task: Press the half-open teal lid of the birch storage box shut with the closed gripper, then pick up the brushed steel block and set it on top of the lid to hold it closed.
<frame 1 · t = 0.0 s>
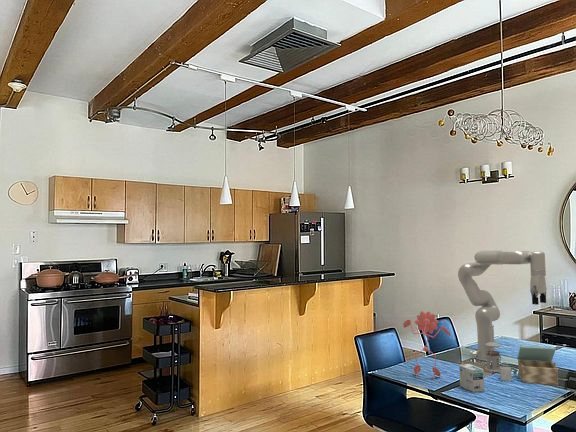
hand: (539, 303, 258), 37 cm above the table, tool pointing down, fingers open, 9 cm apart
lid: (535, 353, 242), point 13 cm above the table, hinge at 40.0°
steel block: (505, 379, 241), on the table
light bulb box: (472, 389, 227), on the table
figurine: (428, 375, 250), on the table
storage box: (537, 379, 240), on the table
french press: (493, 369, 259), on the table
packaged product: (543, 371, 256), on the table
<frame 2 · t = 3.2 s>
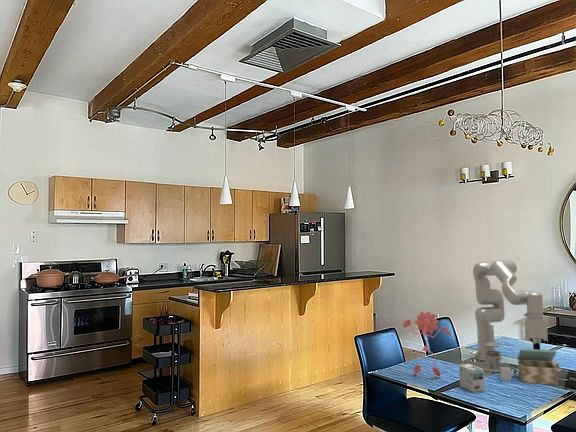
hand: (536, 351, 240), 15 cm above the table, tool pointing down, fingers closed
lid: (536, 355, 241), point 12 cm above the table, hinge at 33.1°, touching gripper
packaged product: (546, 372, 255), on the table
everything else where it was.
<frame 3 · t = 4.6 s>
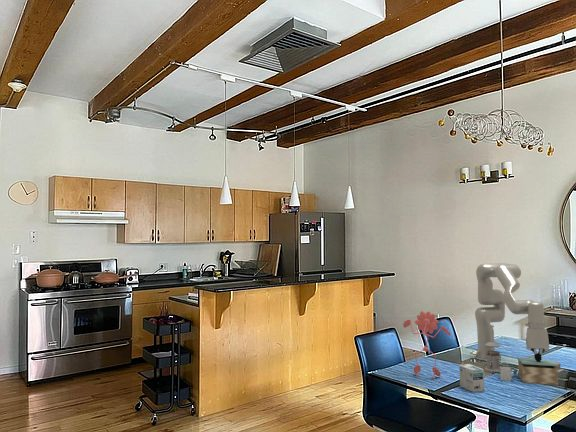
hand: (538, 361, 238), 10 cm above the table, tool pointing down, fingers closed
lid: (537, 361, 240), point 9 cm above the table, hinge at 5.5°, touching gripper
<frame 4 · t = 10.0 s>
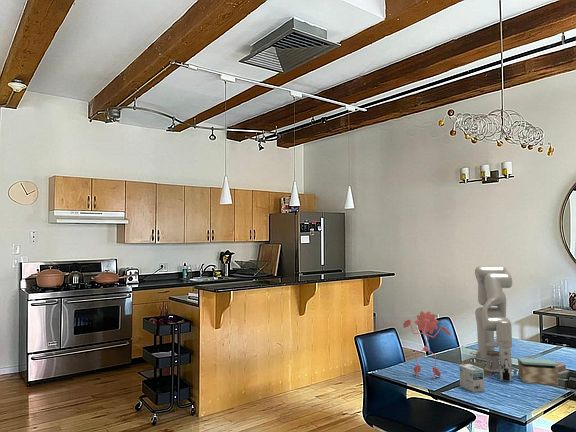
hand: (505, 378, 241), 1 cm above the table, tool pointing down, fingers closed on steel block, 5 cm apart
lid: (537, 361, 240), point 9 cm above the table, hinge at 5.5°
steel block: (505, 379, 241), on the table, touching gripper
packaged product: (551, 373, 252), on the table
everything else where it was.
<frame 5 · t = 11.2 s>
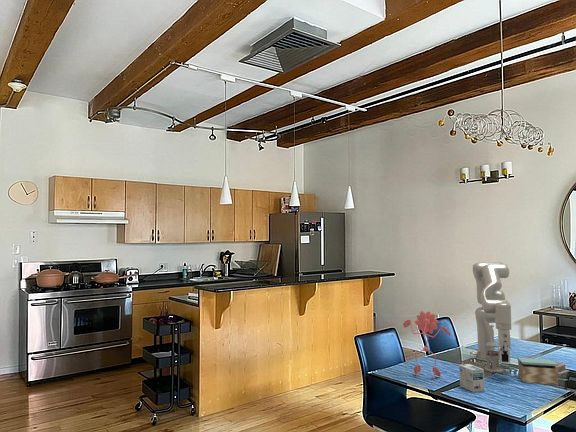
hand: (504, 359, 242), 10 cm above the table, tool pointing down, fingers closed on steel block, 5 cm apart
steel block: (504, 361, 242), point 9 cm above the table, touching gripper
everything else where it was.
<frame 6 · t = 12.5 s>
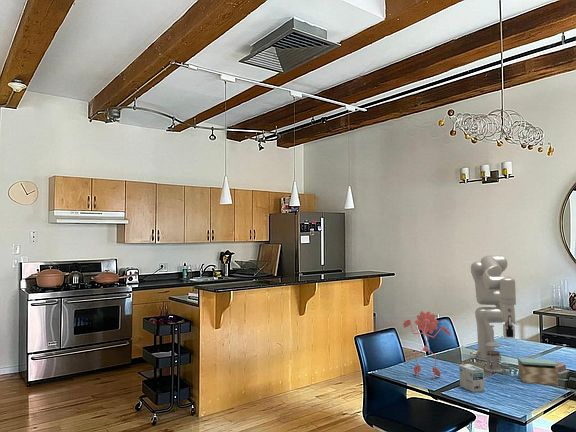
hand: (509, 335, 242), 23 cm above the table, tool pointing down, fingers closed on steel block, 5 cm apart
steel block: (509, 336, 242), point 22 cm above the table, touching gripper
everything else where it was.
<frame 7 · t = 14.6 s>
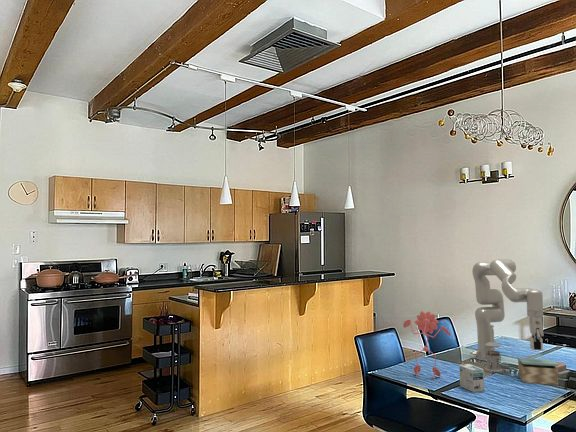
hand: (536, 347, 240), 17 cm above the table, tool pointing down, fingers closed on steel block, 5 cm apart
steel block: (536, 349, 240), point 16 cm above the table, touching gripper
everything else where it was.
when the fingers open (11 cm above the table, at t = 16.0 s): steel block stays where it is, resting on lid.
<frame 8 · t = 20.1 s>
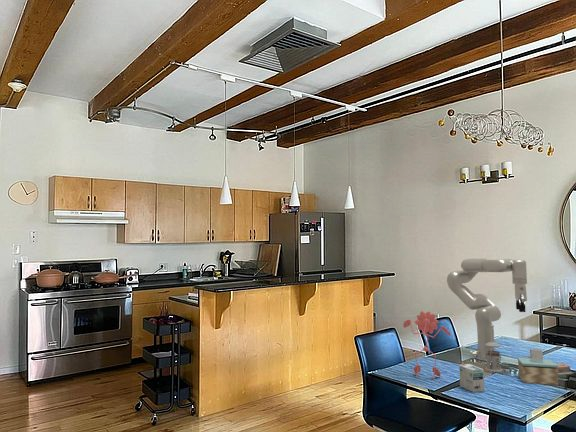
hand: (520, 310, 265), 32 cm above the table, tool pointing down, fingers open, 9 cm apart
lid: (537, 362, 240), point 9 cm above the table, hinge at 2.6°, touching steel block
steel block: (536, 361, 240), point 9 cm above the table, touching lid
at the end: lid at +2° (first picture: +40°); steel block touching lid; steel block tilted 2° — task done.
